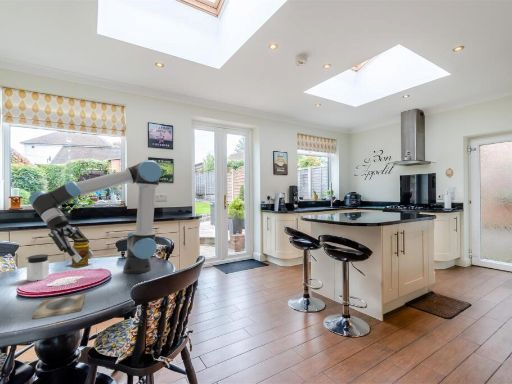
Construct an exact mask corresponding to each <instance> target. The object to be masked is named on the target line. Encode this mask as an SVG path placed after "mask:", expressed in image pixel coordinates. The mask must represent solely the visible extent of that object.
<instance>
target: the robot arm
mask: <svg viewBox="0 0 512 384" xmlns="http://www.w3.org/2000/svg"><path fill="white" fill-rule="evenodd" d="M161 176H162V168H161V166H160V164H159V163H158V162H156V161H154V160H149V159H148V160H144V161H142V162H139V163H137V164H135V165H132V166H129V167H126V168H125V169H124V170H121V171H116V172H113V173H108V174H105V175H101V176H97V177H92V178H88V179H85V180H81V181H80V180H79V181H76V182H75V181H73V180H71V181H69V182H66V183H64V184H62V185H59V186H58V187H57V188H55V189H53V190H51V191H48V192H47V191H45V190H39V191H35V192H33V193H32V194H30V195H29V196H28V202H29V203H30V204H31V207H32V208H33V209H34V211H36V213H37V214H38V215H39V217H40V218H41V219H42V220H43V222H44V223H45V224H46V226H47V228H48V229H49V230H50V231H49V233H47V234H48V236H49V237H50V238H51V239H52V241H53V242H54V244H55V245H56V247H57V248H58V250H59V251H60V252H64V253H68V255H69V256H70V257H71V259H72V258H73V259H74V260H75V262H76V263H78V262H79V261H80V260H81V259H82V258H81V256H80V255H79V254H78V253H77V251H76V250H75V249H74V247H73V246H71V243H70V240H69V239H71V240H72V241H74V240H75V239H80V238H86V239H88V238H87V237H86V235H85V234H83V232H82V231H81V230H80V228H79V227H78V226H75V227H73V226H72V225H70V221H69V219H68V218H67V217H66V216H65V214H64V212H63V211H61V209H60V208H59V206H61V205H63V204H65V203H67V202H68V201H71V200H73V199H74V198H78V197H82V196H86V195H88V194H89V195H90V194H92V193H96V192H101V191H104V190H107V189H111V188H114V187H115V188H116V187H118V186H121V185H122V186H123V185H125V184H126V185H127V184H136V186H137V187H138V196H137V209H136V210H137V212H136V227H135V228H136V229H135V230H134V231H131V232H128V233H127V237H126V239H127V240H126V241H127V242H126V243H127V244H126V259H125V263H124V264H123V265H124V266H123V271H122V272H123V273H124V274H130V275H133V274H134V275H137V274H142V273H146V272H149V271H150V270H152V265H151V261H150V258H151V257H152V256H153V255H155V253H156V251H157V248H158V246H157V242H156V241H155V240H156V232H155V231H153V230H154V217H155V216H154V214H155V200H156V189H157V188H158V186H159V184H160V183H159V182H160V178H161ZM89 243H90V240H89V239H88V244H89ZM94 256H95V253H93V251H92V250H91V248H90V247H89V253H88V260H90V259H92V258H93V257H94Z"/></svg>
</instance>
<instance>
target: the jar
mask: <svg viewBox="0 0 512 384" xmlns="http://www.w3.org/2000/svg"><path fill="white" fill-rule="evenodd" d="M27 260H28V261H27V262H26V280H27V281H29V282H36V281H37V280H38V281H43V280H46V279H48V278H49V274H50V269H49V268H50V265H49V264H50V262H49V261H50V260H49V255H48V254H33V255H30V256H28V257H27ZM38 281H37V282H38Z"/></svg>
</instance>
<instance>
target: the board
mask: <svg viewBox="0 0 512 384" xmlns="http://www.w3.org/2000/svg"><path fill="white" fill-rule="evenodd" d="M85 299H86V293H85V294H77V295H70V296H63V297H58V298H57V297H56V298H48V299H44V300H43V299H42V301H41V302H40V304H39V305H38V307H37V308H36V310H35V311H34V313H33V315H32V320H35V319H40V318H45V317H53V316H58V315H64V314H65V315H66V314H70V313H75V312H81V311H82V309H83V306H84V303H85Z"/></svg>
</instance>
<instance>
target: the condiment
mask: <svg viewBox="0 0 512 384" xmlns="http://www.w3.org/2000/svg"><path fill="white" fill-rule="evenodd" d="M86 238H87V237H86ZM86 238H80V239H75V240H73V245H72V247H74V249H75V250H76V251H77V253H78V254H79V255H80V256H81V258H82V259H81V260H80V261H79V262H78V263H76V262H75V260H74V259H73V258H72V257H71V264H67V265H65V267H67V268H70V269H81V268H85V267H90V266H93V264H92V263H89V258H88V253H89V248H90V247H89V246H90V245H89V243H88V240H89V239H88V238H87V239H86Z"/></svg>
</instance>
